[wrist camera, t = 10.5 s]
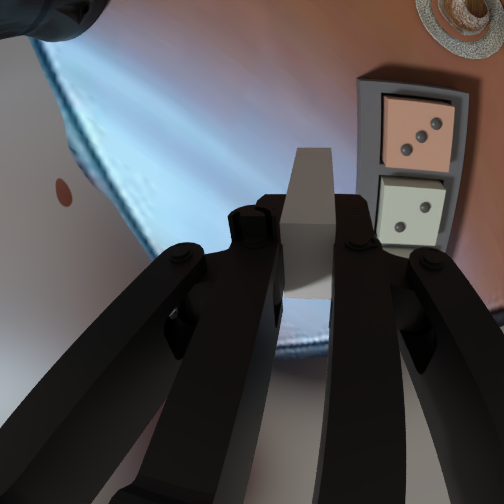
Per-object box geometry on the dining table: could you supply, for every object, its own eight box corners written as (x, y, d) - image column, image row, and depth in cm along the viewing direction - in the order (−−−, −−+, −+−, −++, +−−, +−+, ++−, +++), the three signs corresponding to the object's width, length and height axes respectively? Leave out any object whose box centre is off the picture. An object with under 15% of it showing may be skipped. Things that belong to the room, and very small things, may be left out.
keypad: (349, 280, 46) (349, 299, 43) (356, 78, 30) (360, 80, 27) (425, 283, 43) (430, 302, 40) (455, 88, 27) (469, 93, 24)
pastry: (517, 39, 21) (536, 41, 17) (451, 74, 27) (466, 77, 23) (464, -45, 17) (478, -53, 13) (391, -13, 23) (400, -22, 19)
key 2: (375, 225, 38) (378, 243, 34) (379, 171, 34) (384, 186, 31) (427, 228, 36) (435, 246, 33) (435, 176, 32) (446, 190, 29)
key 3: (380, 155, 33) (386, 167, 29) (381, 94, 29) (388, 99, 26) (437, 160, 31) (449, 173, 28) (441, 100, 27) (455, 107, 24)
